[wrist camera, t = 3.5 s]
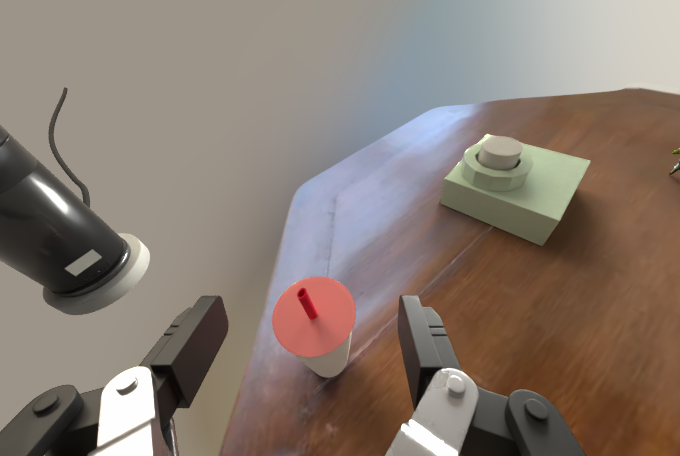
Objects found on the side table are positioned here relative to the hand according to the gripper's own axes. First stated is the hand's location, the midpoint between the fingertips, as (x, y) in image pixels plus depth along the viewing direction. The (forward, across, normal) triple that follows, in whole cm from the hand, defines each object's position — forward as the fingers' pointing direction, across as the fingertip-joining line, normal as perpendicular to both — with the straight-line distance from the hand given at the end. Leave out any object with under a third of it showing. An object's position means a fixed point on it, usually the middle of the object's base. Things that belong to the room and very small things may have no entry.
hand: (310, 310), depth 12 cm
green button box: (+25, -22, +3) cm, 33 cm away
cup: (+8, 0, +12) cm, 14 cm away
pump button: (+23, -19, -2) cm, 29 cm away
